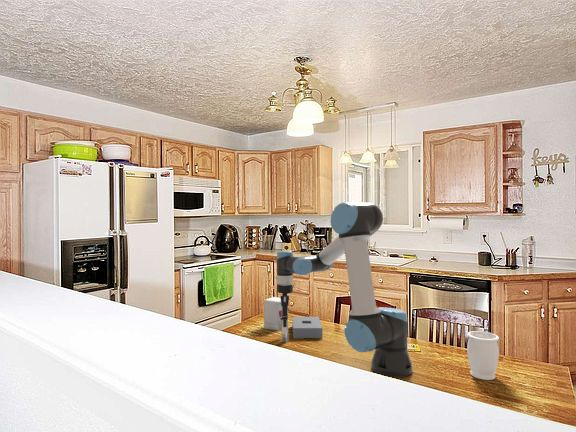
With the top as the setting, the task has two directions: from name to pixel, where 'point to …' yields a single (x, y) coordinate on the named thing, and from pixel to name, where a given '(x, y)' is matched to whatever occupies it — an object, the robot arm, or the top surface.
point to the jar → (483, 354)
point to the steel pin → (284, 336)
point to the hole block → (306, 327)
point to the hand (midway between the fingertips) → (284, 329)
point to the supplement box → (273, 313)
